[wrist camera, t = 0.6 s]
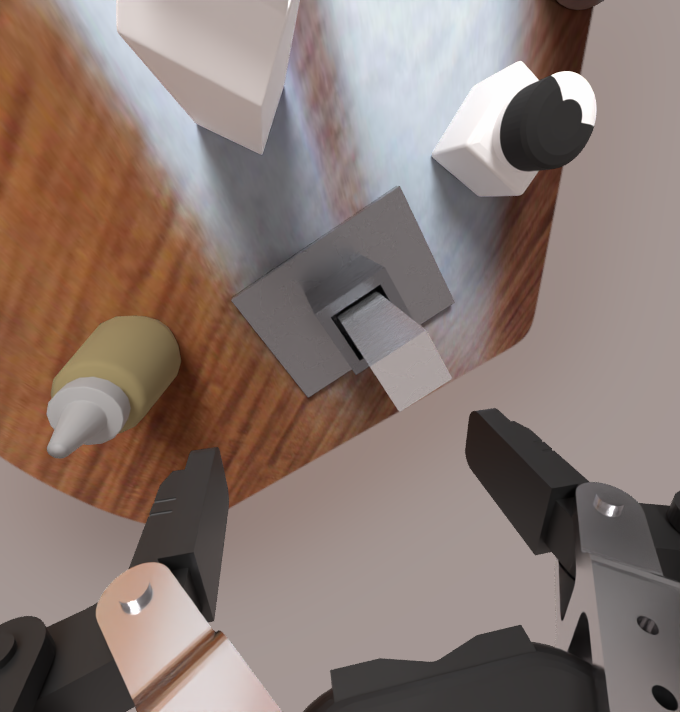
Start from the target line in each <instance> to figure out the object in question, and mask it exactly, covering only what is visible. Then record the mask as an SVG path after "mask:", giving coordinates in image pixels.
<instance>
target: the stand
mask: <svg viewBox="0 0 680 712" xmlns="http://www.w3.org/2000/svg"><path fill="white" fill-rule="evenodd" d="M373 289H374V290H376V291H377V292H378V293H380V294H381V295H382V296H383V297H385V298H386V299H387V300H388V301H390V302H391V303H392V304H394V305H395V306H396V307H397V308H399V309H400V310H401V311H402V312H404V313H405V314H406V315H408V316H409V317H410V318H411V319H413V320H414V321H415V322H417V323H418V324H419V325H421V324H422V323H424V322H425V321H427V320H428V319H430V318H432V317H433V316H435V315H436V314H438V313H439V312H441V311H442V310H444V309H445V308H447V307H448V306H450V305H452V304H453V303H455V302H454V300H453V298H452V296H451V293H450V291H449V289H448V287H447V285H446V283H445V281H444V279H443V277H442V274H441V272H440V270H439V268H438V266H437V264H436V262H435V260H434V257H433V255H432V253H431V251H430V249H429V247H428V245H427V243H426V241H425V238H424V236H423V234H422V232H421V230H420V228H419V226H418V224H417V221H416V219H415V217H414V215H413V213H412V211H411V209H410V207H409V204H408V202H407V200H406V198H405V196H404V194H403V192H402V190H401V188H400V186H396V187H394V188H393V189H391V190H390V191H388V192H387V193H385V194H384V195H382V196H381V197H379V198H378V199H377V200H375V201H374V202H372V203H371V204H369V205H368V206H366V207H365V208H363V209H362V210H360V211H359V212H357V213H356V214H354V215H353V216H351V217H350V218H348V219H347V220H345V221H344V222H343V223H341V224H340V225H338V226H337V227H335V228H334V229H332V230H331V231H329V232H328V233H326V234H325V235H323V236H322V237H320V238H319V239H317V240H316V241H314V242H313V243H312V244H310V245H309V246H307V247H306V248H304V249H303V250H301V251H300V252H298V253H297V254H295V255H294V256H292V257H291V258H289V259H288V260H286V261H285V262H283V263H282V264H280V265H279V266H278V267H276V268H275V269H273V270H272V271H270V272H269V273H267V274H266V275H264V276H263V277H261V278H260V279H258V280H257V281H255V282H254V283H252V284H251V285H249V286H248V287H246V288H245V289H244V290H242V291H241V292H239V293H238V294H236V295H235V296H233V297H232V299H231V301H232V302H233V303H234V305H235V306H236V307H237V308H238V310H239V311H240V312H241V313H242V315H243V316H244V317H245V319H246V320H247V321H248V322H249V324H250V325H251V326H252V327H253V329H254V330H255V331H256V332H257V334H258V335H259V336H260V337H261V339H262V340H263V341H264V343H265V344H266V345H267V346H268V348H269V349H270V350H271V351H272V353H273V354H274V355H275V356H276V358H277V359H278V360H279V361H280V363H281V364H282V365H283V367H284V368H285V369H286V370H287V372H288V373H289V374H290V375H291V377H292V378H293V379H294V380H295V382H296V383H297V384H298V385H299V387H300V388H301V389H302V391H303V392H304V393H305V394H306V396H307V397H310V396H311V395H313V394H315V393H316V392H318V391H319V390H321V389H322V388H324V387H325V386H327V385H328V384H330V383H331V382H333V381H335V380H336V379H338V378H339V377H341V376H342V375H344V374H345V373H347V372H348V371H350V370H353V372H354V373H355V374H356V375H357V374H358V373H360V372H361V371H363V370H365V369H366V368H368V367H369V365H368V363H367V362H366V360H365V358H364V357H363V355H362V354H361V352H360V351H359V349H358V348H357V346H356V345H355V343H354V342H353V340H352V338H351V337H350V335H349V334H348V332H347V331H346V329H345V328H344V326H343V325H342V323H341V322H340V320H339V318H338V317H337V315H336V313H338V312H339V311H341V310H342V309H344V308H345V307H347V306H348V305H350V304H351V303H353V302H354V301H356V300H357V299H359V298H360V297H362V296H363V295H365V294H367V293H368V292H370V291H371V290H373Z"/></svg>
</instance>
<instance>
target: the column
mask: <svg viewBox="0 0 680 712" xmlns="http://www.w3.org/2000/svg"><path fill="white" fill-rule="evenodd" d="M336 315H337V317H338V318H339V320H340V322H341V323H342V325H343V326H344V328H345V329H346V331H347V332H348V334H349V335H350V337H351V338H352V340H353V342H354V343H355V345H356V346H357V348H358V349H359V351H360V352H361V354H362V355H363V357H364V358H365V360H366V362H367V363H368V365H369V366H370V368H371V369H372V371H373V372H374V374H375V375H376V377H377V378H378V380H379V381H380V383H381V385H382V386H383V388H384V389H385V391H386V392H387V394H388V395H389V397H390V398H391V400H392V401H393V403H394V404H395V406H396V407H397V409H398V410H399V412H400V411H402V410H404V409H405V408H407V407H408V406H410V405H411V404H413V403H415V402H416V401H418V400H419V399H421V398H422V397H424V396H426V395H427V394H429V393H430V392H432V391H433V390H435V389H437V388H438V387H440V386H441V385H443V384H444V383H446V382H448V381H449V380H451V379H452V377H451V375H450V374H449V372H448V370H447V368H446V366H445V364H444V362H443V360H442V359H441V357H440V355H439V353H438V351H437V349H436V347H435V345H434V344H433V342H432V340H431V338H430V336H429V334H428V332H427V331H426V330H425V329H424V328H423V327H422V326H420V325H419V324H418V323H417V322H415V321H414V320H413V319H411V318H410V317H409V316H408V315H406V314H405V313H404V312H402V311H401V310H400V309H399V308H397V307H396V306H395V305H394V304H392V303H391V302H390V301H388V300H387V299H386V298H385V297H383V296H382V295H381V294H380V293H378V292H377V291H376V290H374V289H373V290H371V291H370V292H368V293H367V294H365V295H363V296H362V297H360V298H359V299H357V300H356V301H354V302H353V303H351V304H350V305H348V306H347V307H345V308H344V309H342V310H341V311H339V312H338V313H336Z"/></svg>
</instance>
